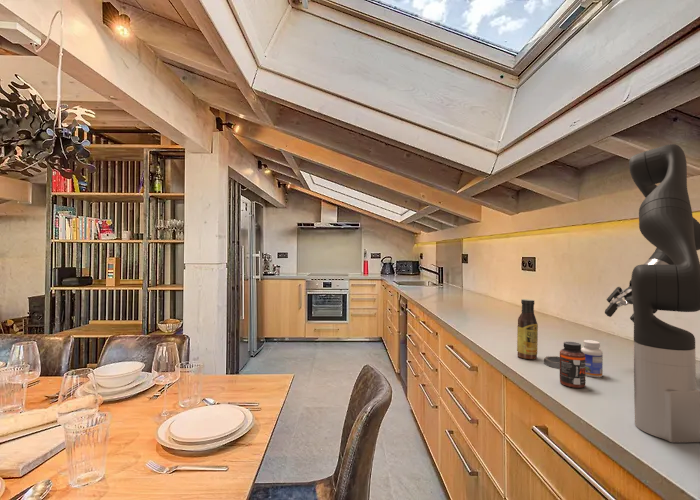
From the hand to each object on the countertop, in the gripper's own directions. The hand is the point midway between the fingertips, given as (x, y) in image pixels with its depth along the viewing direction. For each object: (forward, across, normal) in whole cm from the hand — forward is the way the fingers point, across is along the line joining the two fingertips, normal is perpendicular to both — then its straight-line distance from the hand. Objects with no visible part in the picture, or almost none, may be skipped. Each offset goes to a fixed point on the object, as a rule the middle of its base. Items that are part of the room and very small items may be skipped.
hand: (619, 317), depth 105 cm
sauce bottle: (+24, -18, -2) cm, 30 cm away
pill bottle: (+19, +1, +4) cm, 19 cm away
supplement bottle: (+27, +7, -5) cm, 28 cm away
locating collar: (+21, -9, +2) cm, 23 cm away
